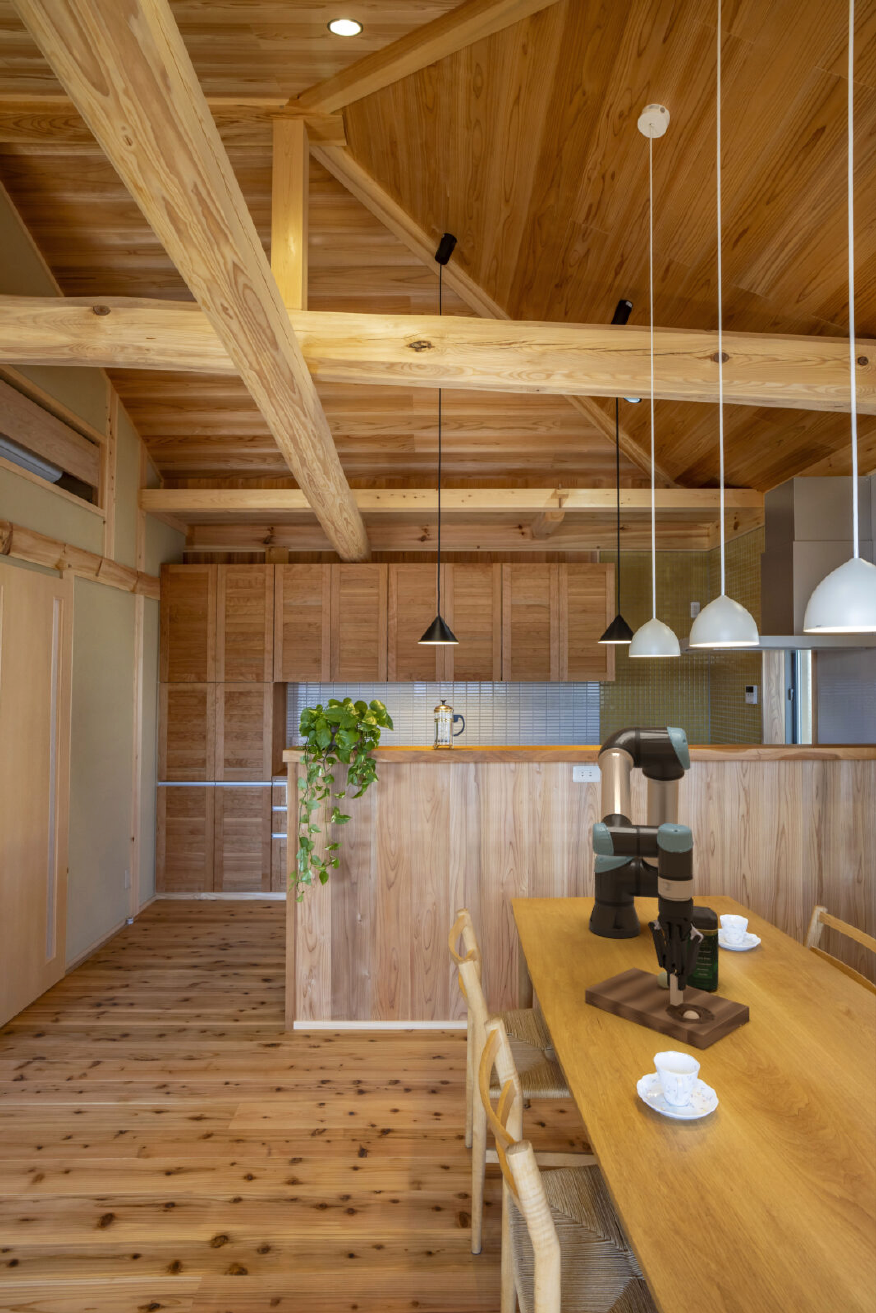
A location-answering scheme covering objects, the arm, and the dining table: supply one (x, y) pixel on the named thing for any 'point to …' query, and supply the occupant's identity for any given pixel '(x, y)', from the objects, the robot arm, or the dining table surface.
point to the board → (668, 1008)
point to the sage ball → (662, 979)
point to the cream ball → (691, 1015)
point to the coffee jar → (705, 950)
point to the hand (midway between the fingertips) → (676, 1002)
